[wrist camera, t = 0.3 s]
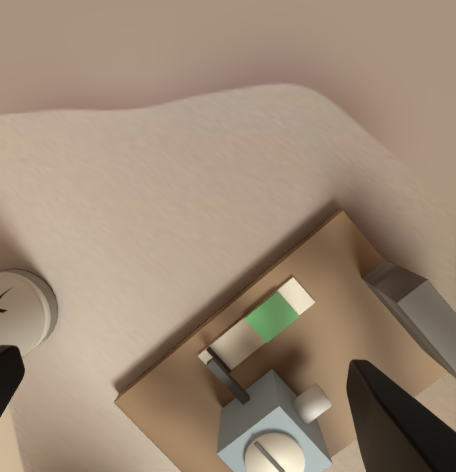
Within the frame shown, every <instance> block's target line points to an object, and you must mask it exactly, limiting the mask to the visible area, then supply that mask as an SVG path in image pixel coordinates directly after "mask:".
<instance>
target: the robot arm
mask: <svg viewBox="0 0 456 472" xmlns="http://www.w3.org/2000/svg"><path fill="white" fill-rule="evenodd" d="M24 373H25V368H24V364H23V360H22V356H21V353H20V349H19V348H18V347H17V346H15V345H0V417H1V415H2V413H3V412H4V410H5V408H6V406H7V405H8V403H9V402H10V400H11V398H12V396H13V395H14V393H15V391H16V389H17V388H18V386H19V384H20V382H21V381H22V379H23V377H24ZM346 391H347V397H348V401H349V405H350V410H351V414H352V418H353V423H354V427H355V431H356V436H357V440H358V444H359V448H360V452H361V456H362V460H363V463H364V466H365V469H366V472H456V432H455V431H454V430H453V429H451V428H450V427H449V426H448V425H447V424H445V423H444V422H443V421H442V420H440V419H439V418H438V417H437V416H436V415H434V414H433V413H432V412H431V411H429V410H428V409H427V408H426V407H425V406H423V405H422V404H421V403H420V402H418V401H417V400H416V399H415V398H414V397H412V396H411V395H410V394H409V393H407V392H406V391H405V390H404V389H403V388H401V387H400V386H399V385H398V384H396V383H395V382H394V381H393V380H392V379H390V378H389V377H388V376H387V375H385V374H384V373H383V372H382V371H381V370H379V369H378V368H377V367H376V366H374V365H373V364H372V363H371V362H369V361H368V360H361V359H352V360H351V361H350V363H349V369H348V376H347V382H346Z"/></svg>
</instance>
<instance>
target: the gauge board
mask: <svg viewBox="0 0 456 472" xmlns="http://www.w3.org/2000/svg"><path fill="white" fill-rule="evenodd" d="M212 357H214V358H215V359H216V360H217V361H218V362H219V363H220V364H221V365H222V366H223V367H224V368H225V369H226V370H227V372H228V373H229V374H230V375H231V376H232V377H233V378H234V379H235V380H236V381H237V382H238V383H239V384H240V386H241V387H242V388H243V389H244V390H246V389H247V388H249V387H250V386H251V385H252V384H254V383H255V382H256V381H258V380H259V379H260V378H261V377H263V376H264V375H265V374H266V373H268V372H269V371H270V370H271V369H273V370H274V371H275V372H276V374H277V375H278V376H279V377H280V378H281V379H282V380H283V381H284V382H285V383H286V384H287V386H288V387H289V388H290V389H291V390H292V391H293V392H294V393H295V394H296V395H297V397H298V396H299V395H301V394H302V393H303V392H305V391H306V390H307V389H308V388H310V387H311V386H312V385H314V384H315V383H316V384H318V385H319V386H320V387H321V388H322V390H323V391H324V392H325V394H326V395H327V397H328V398H329V400H330V402H331V404H332V406H331V407H330V408H329V409H327V410H326V411H325V412H323V413H322V414H321V415H319V416H318V417H317V420H318V423H319V426H320V429H321V432H322V435H323V438H324V440H325V443H326V446H327V449H328V452H329V455H330V458H331V457H332V456H334V455H335V454H337V453H338V452H339V451H341V450H342V449H343V448H345V447H346V446H348V445H349V444H350V443H352V442H353V441H354V440H356V439H357V436H356V431H355V427H354V423H353V418H352V414H351V410H350V405H349V401H348V397H347V391H346V382H347V376H348V369H349V363H350V361H351V360H352V359H361V360H368V361H369V362H371V363H372V364H373V365H374V366H376V367H377V368H378V369H379V370H381V371H382V372H383V373H384V374H385V375H387V376H388V377H389V378H390V379H392V380H393V381H394V382H395V383H396V384H398V385H399V386H400V387H401V388H403V389H404V390H405V391H406V392H407V393H409V394H410V395H411V396H412V397H415V396H416V395H418V394H419V393H420V392H422V391H423V390H425V389H426V388H427V387H429V386H430V385H431V384H433V383H434V382H436V381H437V380H438V379H440V378H441V377H442V376H444V375H445V374H447V373H448V372H449V373H450V374H451V375H452V376H454V377H455V378H456V313H455V312H454V310H453V309H452V308H451V307H450V306H449V304H448V303H447V302H446V301H445V300H444V298H443V297H442V296H441V295H440V294H439V292H438V291H437V290H436V289H435V288H434V286H433V285H432V284H431V283H430V282H429V280H428V279H426V278H423V277H421V276H419V275H417V274H415V273H412V272H410V271H408V270H406V269H404V268H401V267H399V266H397V265H395V264H393V263H390V262H388V261H386V260H384V259H383V257H382V256H381V255H380V254H379V253H378V252H377V250H376V249H375V248H374V247H373V246H372V244H371V243H370V242H369V241H368V240H367V239H366V237H365V236H364V235H363V234H362V233H361V231H360V230H359V229H358V228H357V227H356V225H355V224H354V223H353V222H352V221H351V220H350V218H349V217H348V216H347V215H346V214H345V212H344V211H342V210H338V211H337V212H335V213H334V214H333V215H332V216H331V217H329V218H328V219H327V220H326V221H325V222H323V223H322V224H321V225H320V226H319V227H317V228H316V229H315V230H314V231H313V232H312V233H310V234H309V235H308V236H307V237H306V238H304V239H303V240H302V241H301V242H300V243H298V244H297V245H296V246H295V247H294V248H292V249H291V250H290V251H289V252H288V253H286V254H285V255H284V256H283V257H282V258H281V259H279V260H278V261H277V262H276V263H275V264H273V265H272V266H271V267H270V268H269V269H267V270H266V271H265V272H264V273H263V274H261V275H260V276H259V277H258V278H257V279H256V280H254V281H253V282H252V283H251V284H250V285H248V286H247V287H246V288H245V289H244V290H242V291H241V292H240V293H239V294H238V295H236V296H235V297H234V298H233V299H232V300H230V301H229V302H228V303H227V304H226V305H225V306H223V307H222V308H221V309H220V310H219V311H217V312H216V313H215V314H214V315H213V316H211V317H210V318H209V319H208V320H207V321H205V322H204V323H203V324H202V325H201V326H199V327H198V328H197V329H196V330H195V331H194V332H192V333H191V334H190V335H189V336H188V337H186V338H185V339H184V340H183V341H182V342H180V343H179V344H178V345H177V346H176V347H174V348H173V349H172V350H171V351H170V352H169V353H167V354H166V355H165V356H164V357H163V358H161V359H160V360H159V361H158V362H157V363H155V364H154V365H153V366H152V367H151V368H149V369H148V370H147V371H146V372H145V373H143V374H142V375H141V376H140V377H139V378H138V379H136V380H135V381H134V382H133V383H132V384H130V385H129V386H128V387H127V388H126V389H124V390H123V391H122V392H121V393H120V394H119V395H118V396H117V398H116V400H115V401H114V403H115V404H116V405H117V406H118V407H119V408H120V409H121V410H122V411H123V412H124V413H125V415H126V416H127V417H128V418H129V419H130V420H131V421H132V422H133V423H134V424H135V425H136V426H137V427H138V428H139V429H140V430H141V431H142V432H143V433H144V434H145V435H146V436H147V437H148V438H149V439H150V440H151V441H152V442H153V443H154V444H155V445H156V446H157V447H158V448H159V449H160V450H161V451H162V452H163V453H164V454H165V455H166V456H167V457H168V458H169V459H170V460H171V461H172V463H173V464H174V465H175V466H176V467H177V468H178V469H179V470H180V471H181V472H234V471H233V470H232V469H231V468H230V467H229V466H228V465H227V464H226V463H225V462H224V461H223V460H222V459H221V458H220V457H219V456H218V455H217V446H218V434H219V423H220V411H221V409H222V408H223V407H225V406H226V405H227V404H228V403H230V402H231V401H232V400H233V399H235V398H236V397H235V396H234V395H233V394H232V393H231V392H230V390H229V389H228V388H227V387H226V386H225V385H224V384H223V383H222V382H221V381H220V380H219V379H218V378H217V377H216V375H215V374H214V373H213V372H212V371H211V370H210V369H209V368H208V367H207V366H206V365H207V361H209V360H210V359H211V358H212Z"/></svg>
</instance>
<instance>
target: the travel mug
mask: <svg viewBox="0 0 456 472" xmlns="http://www.w3.org/2000/svg"><path fill="white" fill-rule="evenodd" d="M57 318H58V306H57V302H56V299H55V296H54V294H53V292H52V291H51V289H50V288H49V286H48V285H47V284H46V283H45V282H44V281H43V280H42V279H40V278H39V277H38V276H36V275H34V274H32V273H30V272H28V271H24V270H20V269H9V270H3V271H0V345H15V346H17V347H18V348H19V349H20V353H21V356H22V357H23V356H25V355H26V354H27V353H29V352H30V351H31V350H32V349H34V348H35V347H37V346H38V345H39V344H41V343H42V342H43V341H44V340H46V339H47V338H48V337H49V336H50V334H51V333H52V332H53V330H54V328H55V325H56V323H57Z"/></svg>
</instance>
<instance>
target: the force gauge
mask: <svg viewBox="0 0 456 472" xmlns="http://www.w3.org/2000/svg"><path fill="white" fill-rule="evenodd" d="M206 366H207V367H208V368H209V369H210V370H211V371H212V372H213V373H214V374H215V375H216V377H217V378H218V379H219V380H220V381H221V382H222V383H223V384H224V385H225V386H226V387H227V388H228V389H229V390H230V392H231V393H232V394H233V395H234V396H235V397H236V398H235V399H233V400H232V401H231V402H230V403H228V404H227V405H226V406H225V407H223V408H222V409H221V411H220V423H219V434H218V446H217V455H218V456H219V457H220V458H221V459H222V460H223V461H224V462H225V463H226V464H227V465H228V466H229V467H230V468H231V469H232V470H233V471H234V472H322V471H323V470H325V469H326V468H328V467H329V466H330V465H332V461H331V458H330V455H329V452H328V449H327V446H326V443H325V440H324V438H323V435H322V432H321V429H320V426H319V423H318V420H317V417H318V416H319V415H321V414H322V413H323V412H325V411H326V410H327V409H329V408H330V407H331V406H332V404H331V402H330V400H329V398H328V397H327V395H326V394H325V392H324V391H323V390H322V388H321V387H320V386H319V385H318V384H316V383H315V384H314V385H312V386H311V387H310V388H308V389H307V390H306V391H305V392H303V393H302V394H301V395H299V396H298V397H297V395H296V394H295V393H294V392H293V391H292V390H291V389H290V388H289V387H288V386H287V384H286V383H285V382H284V381H283V380H282V379H281V378H280V377H279V376H278V375H277V374H276V372H275V371H274V370H273V369H271V370H270V371H269V372H268V373H266V374H265V375H264V376H263V377H261V378H260V379H259V380H258V381H256V382H255V383H254V384H252V385H251V386H250V387H249V388H247V389H246V390H244V389H243V388H242V387H241V386H240V384H239V383H238V382H237V381H236V380H235V379H234V378H233V377H232V376H231V375H230V374H229V373H228V372H227V370H226V369H225V368H224V367H223V366H222V365H221V364H220V363H219V362H218V361H217V360H216V359H215V358H214V357H212V358H211V359H210V360H209V361H207V365H206Z"/></svg>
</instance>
